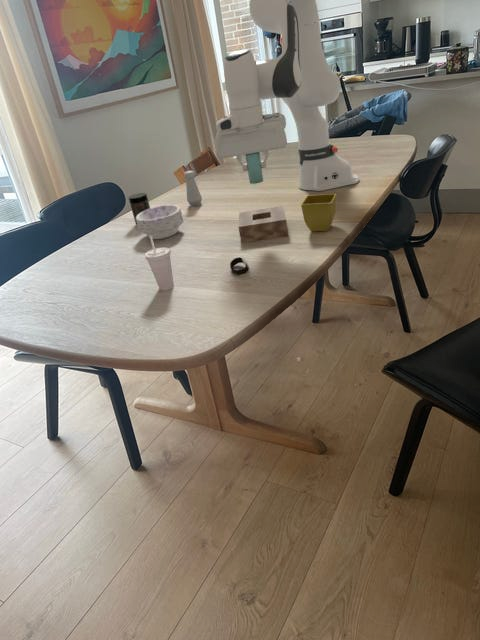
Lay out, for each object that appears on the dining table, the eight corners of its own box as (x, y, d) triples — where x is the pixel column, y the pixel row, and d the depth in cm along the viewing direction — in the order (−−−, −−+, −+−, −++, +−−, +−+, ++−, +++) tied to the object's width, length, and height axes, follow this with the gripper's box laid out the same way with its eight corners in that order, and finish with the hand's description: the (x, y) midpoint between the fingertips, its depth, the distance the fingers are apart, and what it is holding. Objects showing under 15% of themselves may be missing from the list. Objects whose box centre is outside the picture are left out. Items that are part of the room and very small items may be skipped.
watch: (253, 273, 120) (251, 260, 118) (236, 278, 119) (233, 265, 117) (244, 263, 126) (242, 251, 125) (227, 268, 125) (225, 255, 124)
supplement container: (152, 218, 179) (145, 191, 174) (155, 223, 173) (147, 195, 168) (135, 223, 178) (127, 195, 173) (137, 227, 172) (129, 199, 167)
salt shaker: (200, 206, 183) (193, 172, 176) (186, 207, 184) (179, 174, 178) (204, 201, 188) (197, 168, 181) (191, 203, 189) (183, 170, 183)
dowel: (263, 179, 139) (259, 151, 135) (263, 182, 136) (259, 153, 132) (249, 181, 140) (245, 153, 136) (249, 184, 136) (245, 156, 132)
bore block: (285, 221, 151) (283, 205, 148) (288, 235, 138) (286, 219, 136) (241, 227, 152) (239, 212, 150) (241, 243, 140) (238, 226, 137)
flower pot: (338, 222, 141) (336, 193, 137) (334, 233, 134) (331, 202, 130) (309, 224, 144) (306, 195, 140) (303, 234, 137) (300, 204, 133)
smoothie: (155, 284, 124) (141, 233, 117) (179, 279, 124) (166, 229, 117) (153, 294, 118) (138, 242, 111) (178, 290, 118) (165, 237, 111)
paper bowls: (149, 246, 151) (142, 223, 147) (136, 236, 163) (129, 213, 160) (192, 232, 156) (187, 209, 152) (176, 223, 168) (171, 201, 165)
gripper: (283, 110, 131) (289, 160, 138) (211, 122, 133) (221, 172, 140) (285, 112, 126) (291, 165, 132) (210, 126, 128) (219, 177, 134)
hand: (254, 169), depth 136 cm, fingers closed on dowel, 4 cm apart
